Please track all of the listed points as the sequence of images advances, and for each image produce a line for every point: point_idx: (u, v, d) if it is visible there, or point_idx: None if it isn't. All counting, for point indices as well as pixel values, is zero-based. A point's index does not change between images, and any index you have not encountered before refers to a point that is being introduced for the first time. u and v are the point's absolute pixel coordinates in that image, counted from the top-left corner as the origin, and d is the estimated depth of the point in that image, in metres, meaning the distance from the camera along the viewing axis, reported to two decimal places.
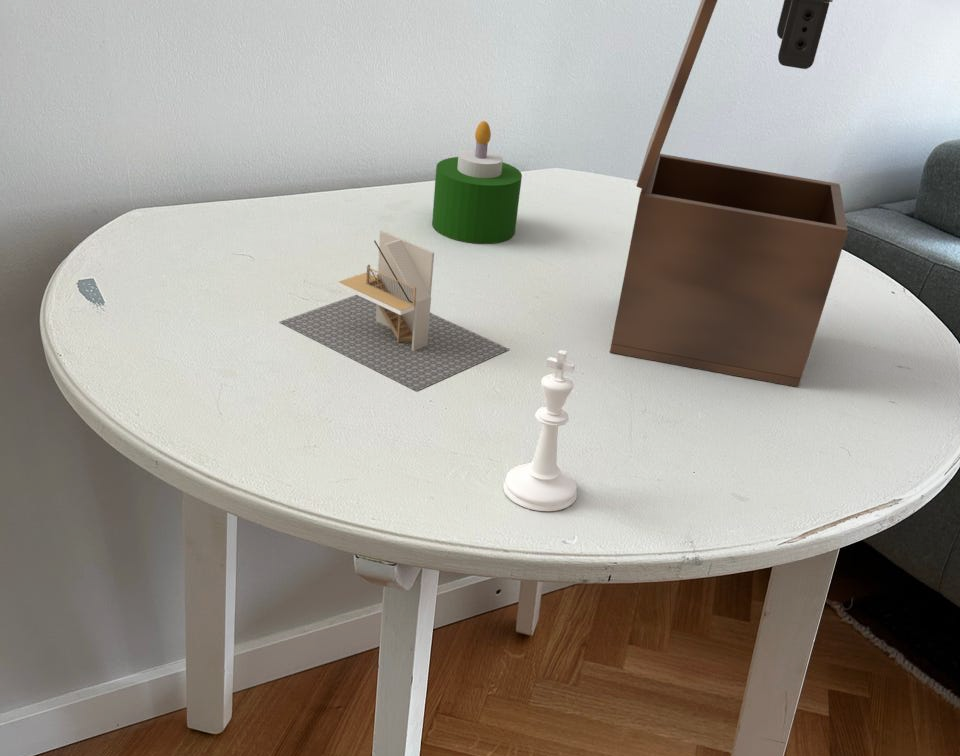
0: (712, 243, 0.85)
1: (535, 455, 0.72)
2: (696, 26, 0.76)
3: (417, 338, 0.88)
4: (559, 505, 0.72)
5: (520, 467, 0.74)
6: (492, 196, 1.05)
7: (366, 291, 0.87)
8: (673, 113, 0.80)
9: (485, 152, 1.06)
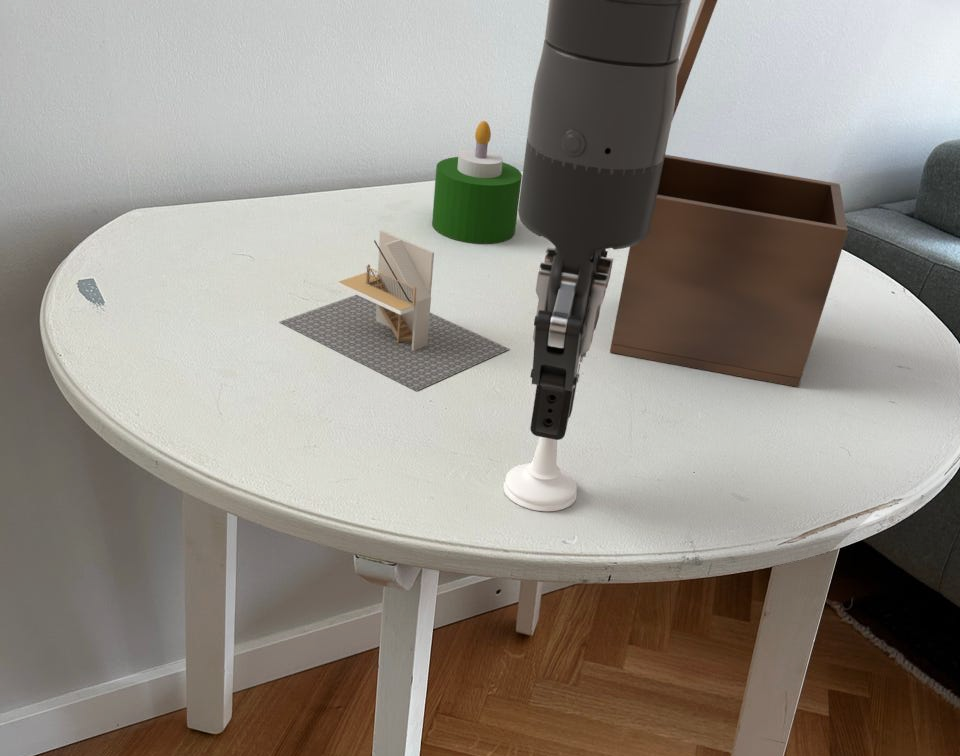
0: (712, 243, 0.85)
1: (535, 455, 0.72)
2: (696, 26, 0.76)
3: (417, 338, 0.88)
4: (559, 505, 0.72)
5: (520, 467, 0.74)
6: (492, 196, 1.05)
7: (366, 291, 0.87)
8: (673, 113, 0.80)
9: (485, 152, 1.06)
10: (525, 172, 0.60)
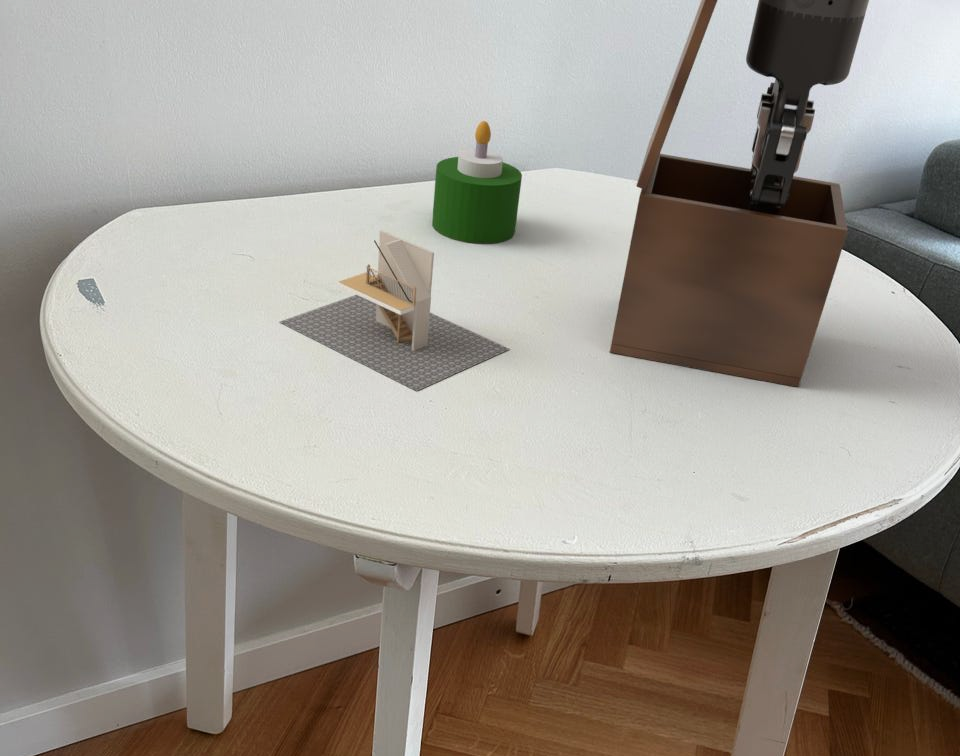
0: (712, 243, 0.85)
1: None
2: (696, 26, 0.76)
3: (417, 338, 0.88)
4: None
5: None
6: (492, 196, 1.05)
7: (366, 291, 0.87)
8: (673, 113, 0.80)
9: (485, 152, 1.06)
10: (758, 26, 0.79)
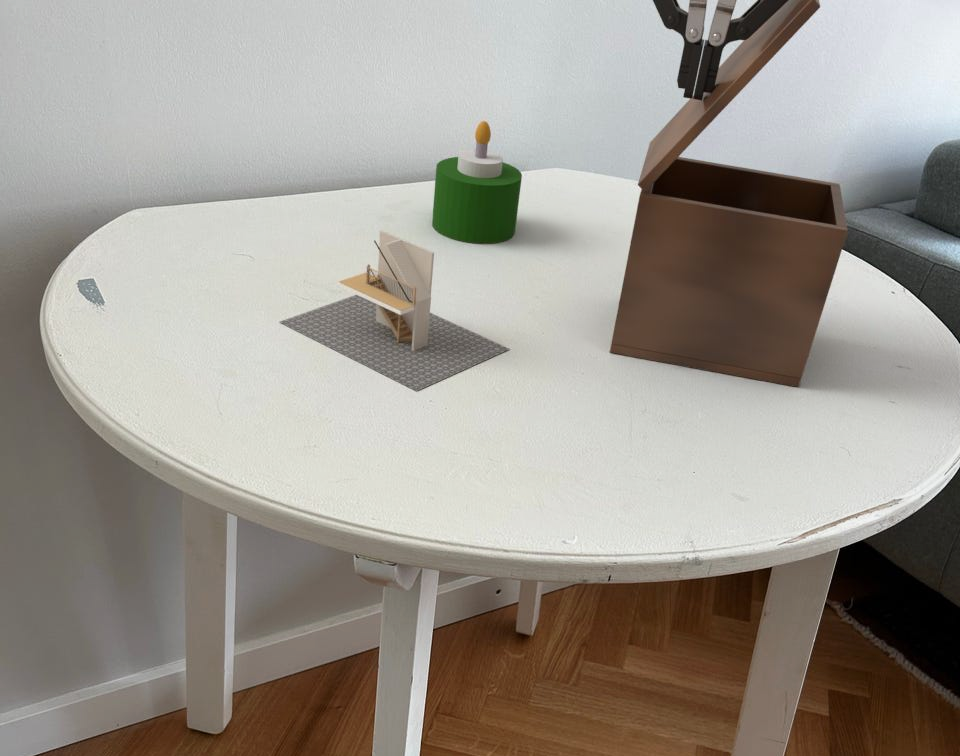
0: (712, 243, 0.85)
1: None
2: (753, 62, 0.77)
3: (417, 338, 0.88)
4: None
5: None
6: (492, 196, 1.05)
7: (366, 291, 0.87)
8: (699, 132, 0.80)
9: (485, 152, 1.06)
10: None
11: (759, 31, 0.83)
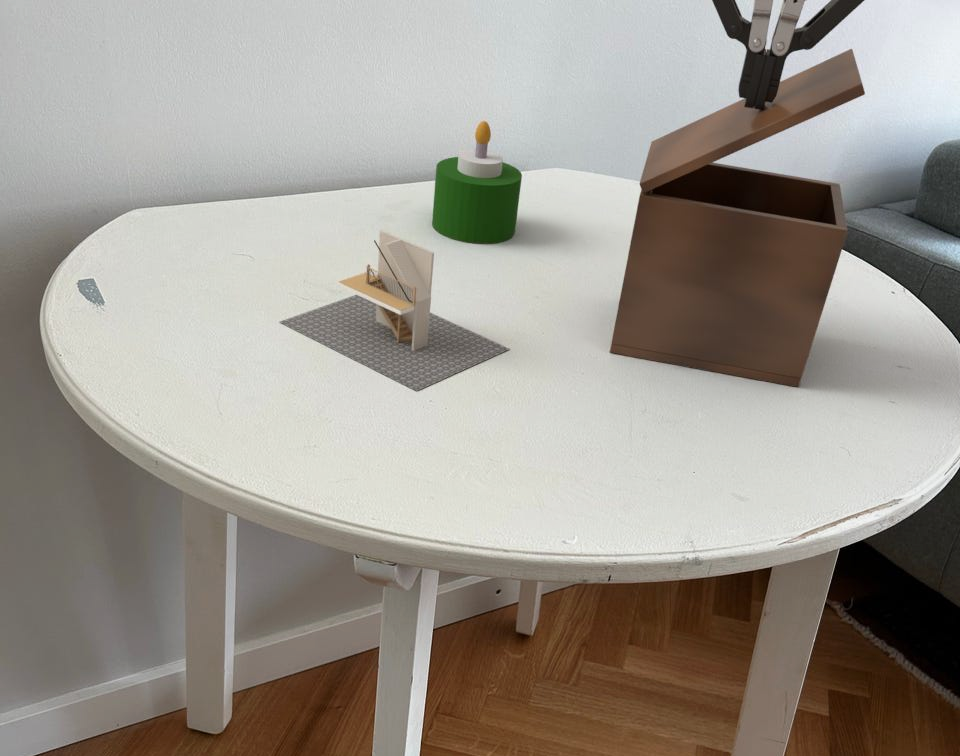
0: (712, 243, 0.85)
1: None
2: (788, 117, 0.78)
3: (417, 338, 0.88)
4: None
5: None
6: (492, 196, 1.05)
7: (366, 291, 0.87)
8: (714, 160, 0.81)
9: (485, 152, 1.06)
10: None
11: (793, 85, 0.84)
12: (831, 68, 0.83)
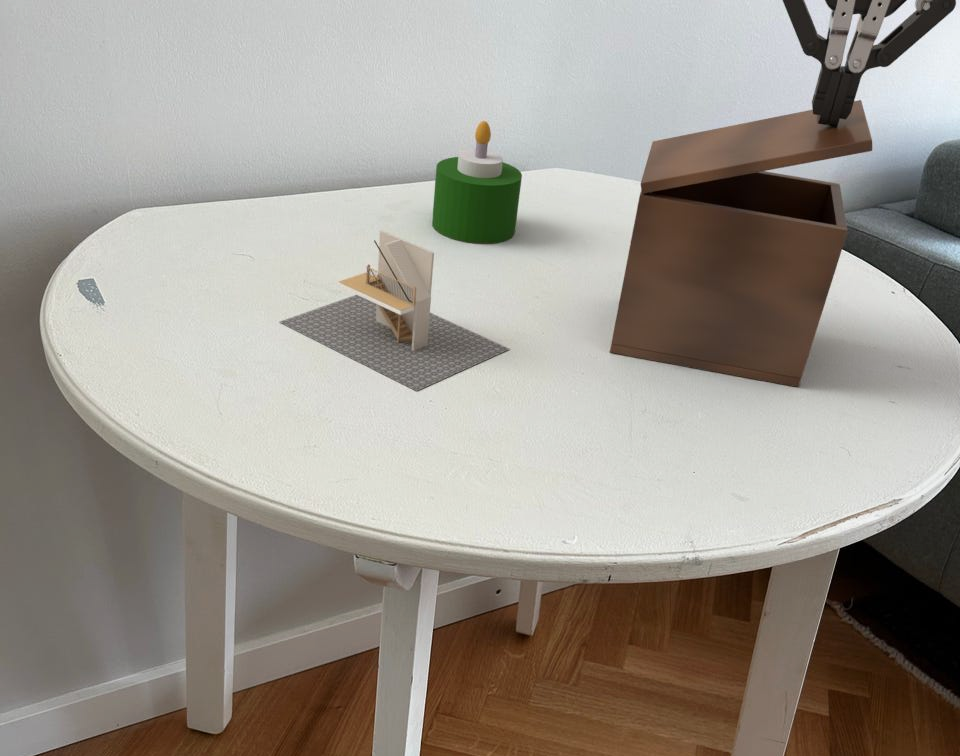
0: (712, 243, 0.85)
1: None
2: (796, 154, 0.80)
3: (417, 338, 0.88)
4: None
5: None
6: (492, 196, 1.05)
7: (366, 291, 0.87)
8: (717, 178, 0.82)
9: (485, 152, 1.06)
10: None
11: (801, 122, 0.86)
12: None
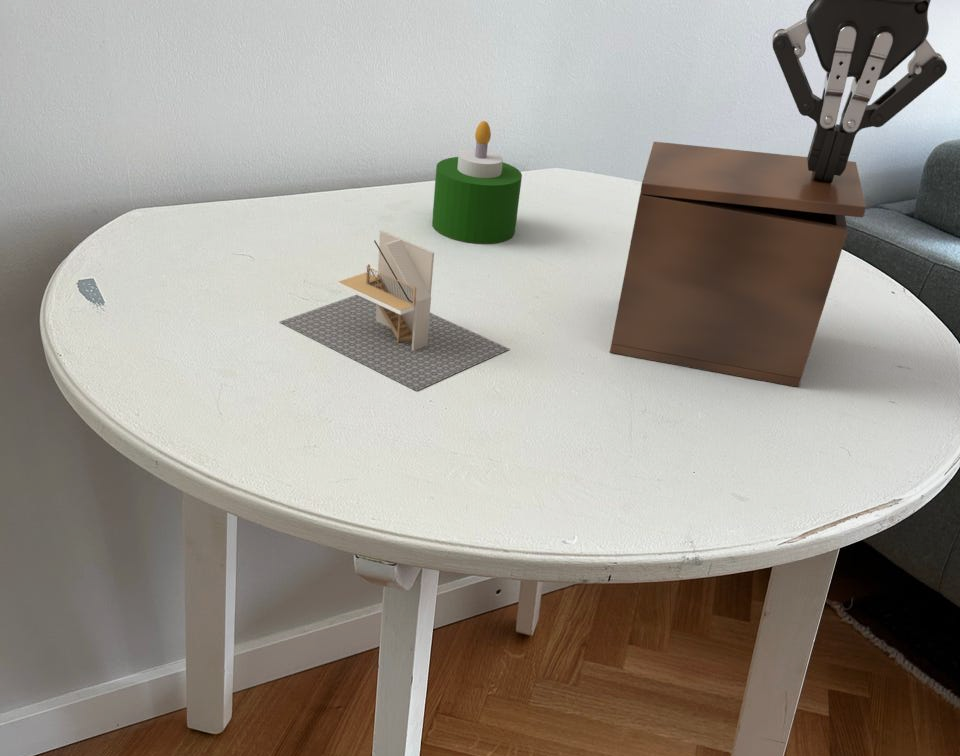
0: (712, 243, 0.85)
1: None
2: (794, 200, 0.82)
3: (417, 338, 0.88)
4: None
5: None
6: (492, 196, 1.05)
7: (366, 291, 0.87)
8: (715, 200, 0.83)
9: (485, 152, 1.06)
10: None
11: (799, 167, 0.88)
12: None
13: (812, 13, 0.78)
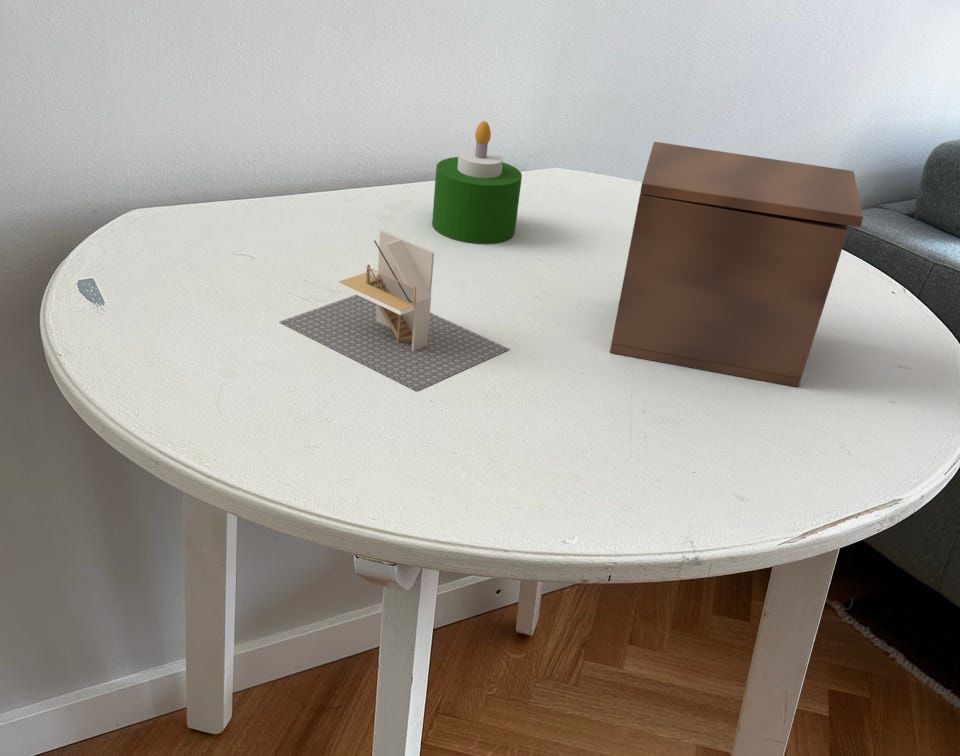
0: (712, 243, 0.85)
1: None
2: (792, 207, 0.82)
3: (417, 338, 0.88)
4: None
5: None
6: (492, 196, 1.05)
7: (366, 291, 0.87)
8: (714, 204, 0.83)
9: (485, 152, 1.06)
10: None
11: (798, 174, 0.88)
12: (834, 180, 0.88)
13: None
